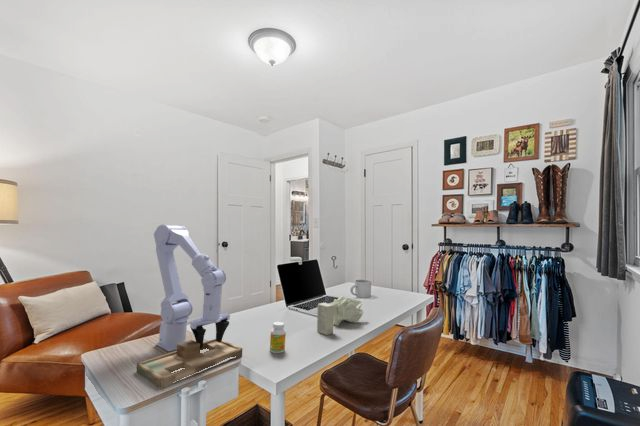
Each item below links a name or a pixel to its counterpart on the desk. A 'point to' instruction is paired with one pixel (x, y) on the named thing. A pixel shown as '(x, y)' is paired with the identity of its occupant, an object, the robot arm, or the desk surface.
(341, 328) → the desk surface
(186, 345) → the walnut block
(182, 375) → the tray
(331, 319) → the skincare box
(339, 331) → the desk surface
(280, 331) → the supplement bottle
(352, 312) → the wavy plaster lump
